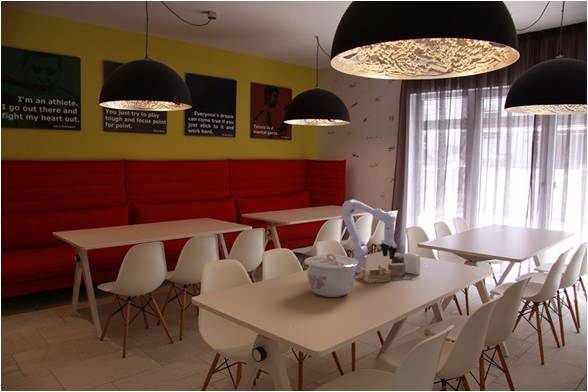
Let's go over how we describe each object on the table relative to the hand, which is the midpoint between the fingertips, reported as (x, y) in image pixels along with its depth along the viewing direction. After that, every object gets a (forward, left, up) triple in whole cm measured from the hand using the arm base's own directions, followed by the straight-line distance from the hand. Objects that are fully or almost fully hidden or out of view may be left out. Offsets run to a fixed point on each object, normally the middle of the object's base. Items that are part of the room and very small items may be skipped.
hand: (388, 257), depth 271 cm
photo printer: (0, +16, -11) cm, 19 cm away
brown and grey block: (+5, +3, -10) cm, 11 cm away
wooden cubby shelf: (+6, -12, -10) cm, 17 cm away
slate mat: (+5, +3, -10) cm, 12 cm away
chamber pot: (+24, -46, -11) cm, 53 cm away
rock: (-16, +20, -11) cm, 28 cm away
